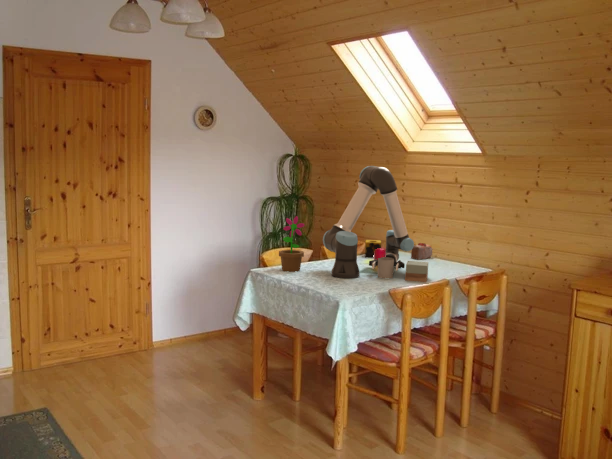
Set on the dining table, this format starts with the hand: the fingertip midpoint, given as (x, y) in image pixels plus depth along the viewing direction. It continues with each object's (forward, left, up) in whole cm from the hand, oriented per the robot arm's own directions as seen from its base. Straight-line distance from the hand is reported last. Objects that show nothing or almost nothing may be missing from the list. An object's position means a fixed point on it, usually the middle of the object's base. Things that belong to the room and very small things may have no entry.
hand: (384, 267), depth 338 cm
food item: (+55, +43, -6) cm, 70 cm away
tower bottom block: (+15, -7, -7) cm, 18 cm away
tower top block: (+16, -7, -2) cm, 17 cm away
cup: (+2, +3, -6) cm, 7 cm away
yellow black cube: (+28, +58, -6) cm, 65 cm away
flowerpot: (-39, +36, -6) cm, 53 cm away
